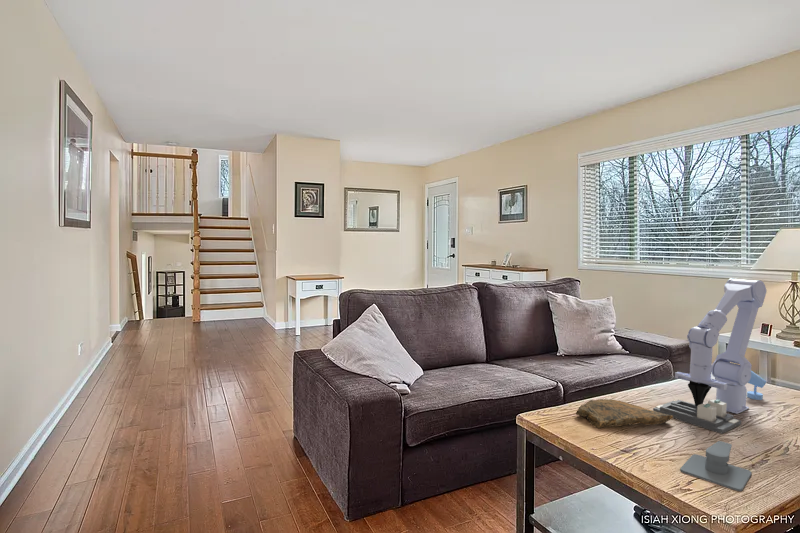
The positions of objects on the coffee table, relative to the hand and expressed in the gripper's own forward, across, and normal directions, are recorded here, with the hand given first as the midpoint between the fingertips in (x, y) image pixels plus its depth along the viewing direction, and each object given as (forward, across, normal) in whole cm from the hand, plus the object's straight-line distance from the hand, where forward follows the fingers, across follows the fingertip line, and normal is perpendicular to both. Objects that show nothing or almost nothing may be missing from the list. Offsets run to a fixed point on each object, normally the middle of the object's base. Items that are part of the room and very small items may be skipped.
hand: (698, 405), depth 147 cm
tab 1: (+2, +5, -7) cm, 9 cm away
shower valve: (+4, +20, -35) cm, 41 cm away
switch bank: (+3, +1, -4) cm, 5 cm away
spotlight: (+3, +3, +35) cm, 35 cm away
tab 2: (+2, +5, 0) cm, 5 cm away
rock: (+4, -11, -25) cm, 28 cm away
